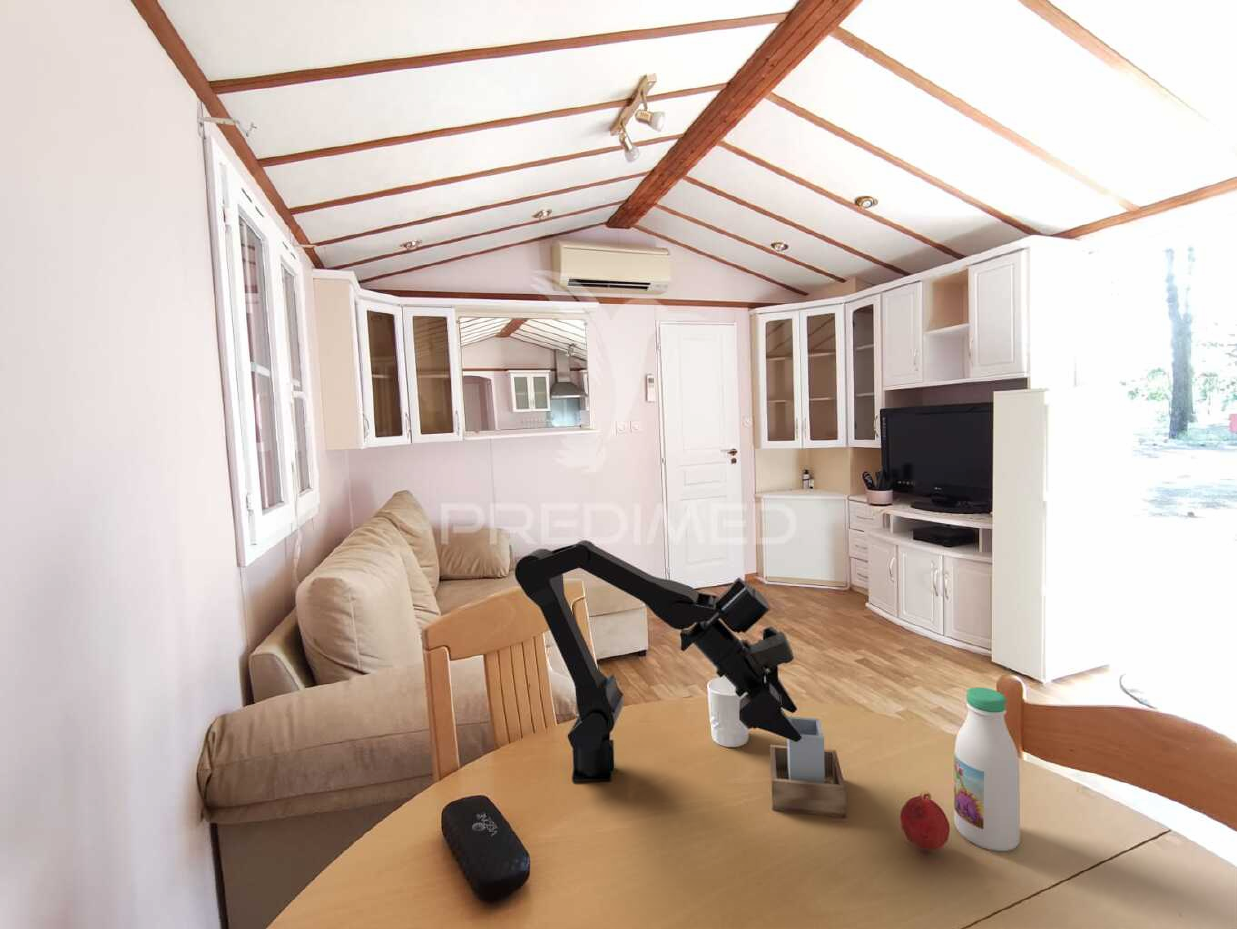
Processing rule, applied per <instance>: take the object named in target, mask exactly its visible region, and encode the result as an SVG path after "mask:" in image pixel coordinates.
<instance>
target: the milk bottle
mask: <svg viewBox="0 0 1237 929" xmlns="http://www.w3.org/2000/svg"><path fill="white" fill-rule="evenodd" d="M966 707H967V708H968V713H967V716H966V718H965V721H964V723H963V725H962V726H961V728H960V729H959V731H958V733H957V736H956V738H955V744H954V755H953V756H954V757H953V758H954V759H953V762H954V763H953V764H954V765H953V769H954V770H953V804H954V806H953V809H954V810H953V811H954V812H953V815H954V817H953V818H954V820H953V821H954V825H955V828H956V830H957V831H958V833H959V834H960V835H961V836H962V837H963V839H965V840H967V841H969V842H970V843H972V844H974V845H975V846H978V847H980V848H984V849H986V850H989V851H994V852H1009V851H1012V850H1014V849H1016V848H1017V847H1018V845H1019V844H1020V836H1021V826H1020V825H1021V789H1020V786H1021V785H1020V784H1021V783H1020V782H1021V778H1020V776H1021V775H1020V774H1021V773H1020V761H1019V759H1020V758H1019V754H1018V750H1017V747H1016V744H1015V743H1014V742H1015V741H1014V739H1013V738H1012V736H1011V734H1010V731H1009V729H1008V726H1007V724H1006V721H1005V715H1006V713H1007V710H1006V708H1007V698H1006V696H1005V695H1004V694H1002V693H1001V692H999V691H997V690H995V689H992V688H988V687H971V688H969V689H967V691H966Z"/></svg>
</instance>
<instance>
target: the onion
mask: <svg viewBox="0 0 1237 929" xmlns="http://www.w3.org/2000/svg"><path fill="white" fill-rule="evenodd" d="M931 798H932V795H931V794H930V792H928V791H922V792H921V793H920V794H919V795H917V796H914V797H911V798H909V799H908V800H907V801H905V804H904V805H903V806H902V807H901V811H900V818H899V819H900V825H901V829H902V831H903V834H904V835H905V837H906V838H907V839H908V840H909V842H910V843H911V844H912V845H914V846H915V847H917V848H919V849H920V850H922V851H923V852H931V851H935V850H938V849H939V848H942V847H944V846H945V845H946V843H947V842H948V839H949V837H950V831H951V827H950V826H951V825H950V822H949V820H948V818H947V816H946V813H945V812H944V810H943V809H942V807H941V806H940V805H938V803H937V802H935V801H934V800H932V799H931Z"/></svg>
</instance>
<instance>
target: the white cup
mask: <svg viewBox="0 0 1237 929" xmlns="http://www.w3.org/2000/svg"><path fill="white" fill-rule="evenodd" d="M706 685H707V688H706V690H707V702H708V703H707V704H708V714H709V724H710V734H711V739H712V741H713V742H715V743H716V744H717V745H719V746H723V747H727V748H737V747H741V746H744V745H746V744H747V743H748V741H749V730H750V729H748V728H747V727H746V726H745V725H744V724H743V723H742V722H741V721H740V720H739V706H740V700H741V699H742V698H743V697H744V696H746V695H747V694H748V693H746V692H745V693H744V694H743V695H742V696H741V697H739V696H738V695H737V694H736V693H735V686H734V685H733V684H732V683H731V682H730V681H729V680H728V679H727V678H726V677H725V676H722V677H716V678H713V679H711V680H709V681H708V682H707V684H706Z"/></svg>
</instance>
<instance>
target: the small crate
mask: <svg viewBox="0 0 1237 929" xmlns="http://www.w3.org/2000/svg"><path fill="white" fill-rule="evenodd" d="M787 717H788V718H789V720H790V721H791V722H792V724H793V725H794V726H795V728H796V729H797V731H798V732H799V733H800V735H801V737H802V738H801V739H800V740H799V741H798V742H795V741H792V740H790V739H787V738H786V740H787V741H786V743H787V744H786V746H787V754H788V780H797V781H807V782H817V783H825V771H824V749H825V738H824V733H823V729H822V724H821V721H820V718H812V717H799V716H798V717H797V716H787Z"/></svg>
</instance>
